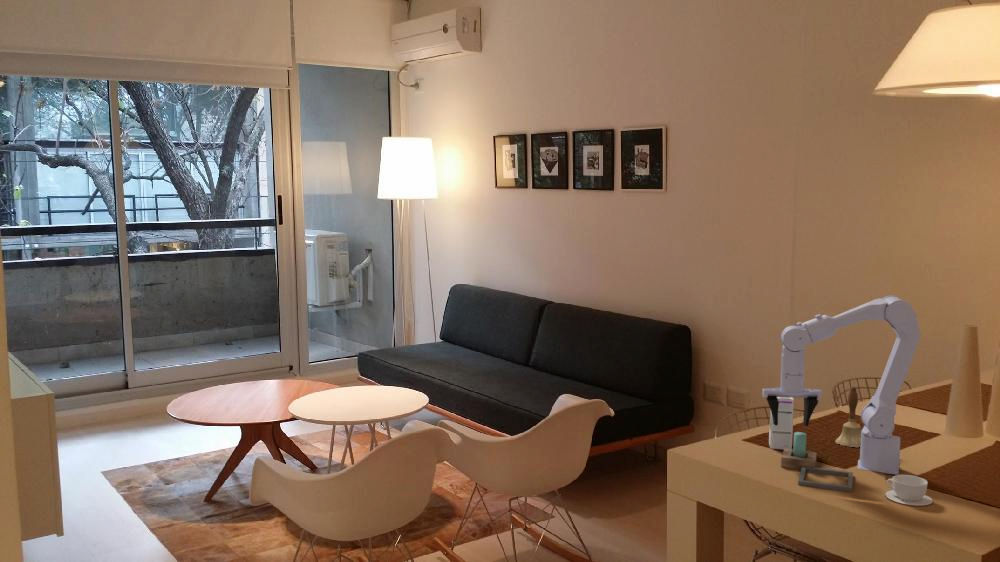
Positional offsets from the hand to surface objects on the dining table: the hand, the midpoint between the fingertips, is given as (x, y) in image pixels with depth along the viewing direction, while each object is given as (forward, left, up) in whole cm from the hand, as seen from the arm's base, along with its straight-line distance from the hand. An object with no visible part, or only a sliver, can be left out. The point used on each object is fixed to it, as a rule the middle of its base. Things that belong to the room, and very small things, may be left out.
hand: (790, 424), depth 229 cm
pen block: (-3, +2, -10) cm, 11 cm away
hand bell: (-15, -24, -10) cm, 30 cm away
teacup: (-28, +16, -11) cm, 34 cm away
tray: (-10, +12, -10) cm, 18 cm away
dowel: (-3, +2, -10) cm, 10 cm away
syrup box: (+3, -12, -10) cm, 16 cm away
